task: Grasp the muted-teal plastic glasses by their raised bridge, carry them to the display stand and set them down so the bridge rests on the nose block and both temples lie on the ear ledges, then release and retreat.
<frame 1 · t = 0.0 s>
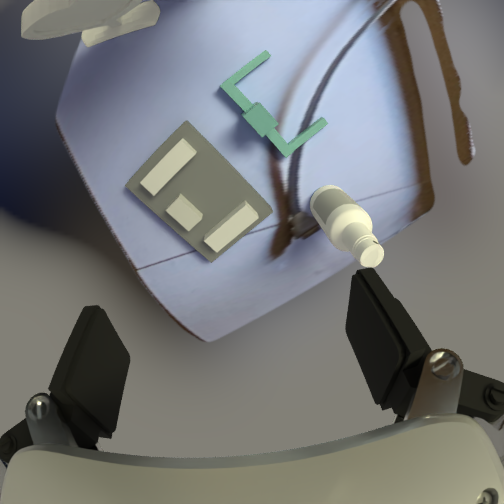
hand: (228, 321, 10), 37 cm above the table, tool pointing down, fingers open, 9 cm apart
white bottle: (327, 202, 49), on the table
display stand: (199, 193, 46), on the table
heart sculpture: (119, 23, 29), on the table
teal glasses: (257, 117, 40), on the table
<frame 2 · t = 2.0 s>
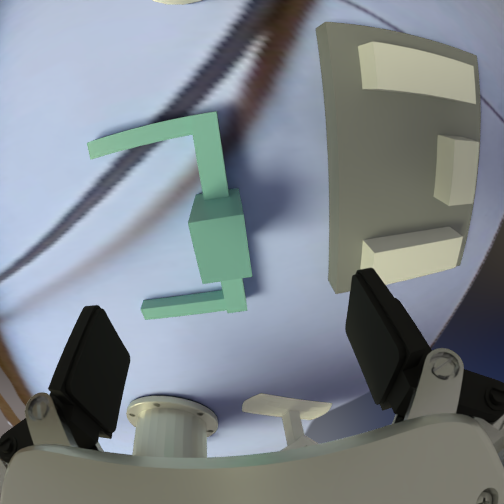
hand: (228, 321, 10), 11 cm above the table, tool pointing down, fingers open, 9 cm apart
display stand: (407, 160, 19), on the table
heart sculpture: (288, 407, 35), on the table
teal glasses: (221, 217, 20), on the table
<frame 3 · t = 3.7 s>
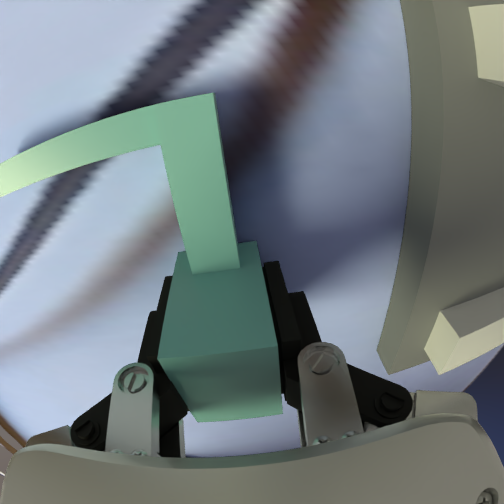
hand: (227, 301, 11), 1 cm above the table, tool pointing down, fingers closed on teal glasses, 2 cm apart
display stand: (499, 189, 11), on the table
teal glasses: (225, 287, 12), on the table, touching gripper
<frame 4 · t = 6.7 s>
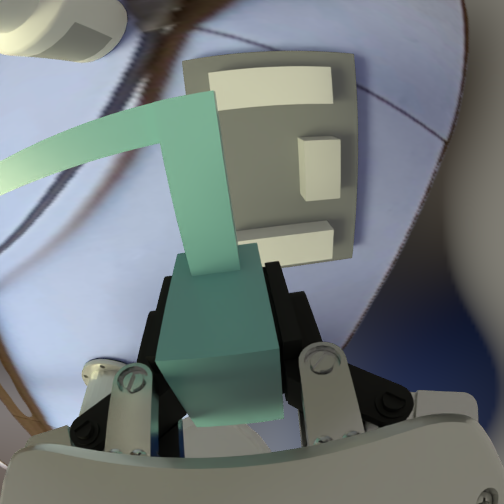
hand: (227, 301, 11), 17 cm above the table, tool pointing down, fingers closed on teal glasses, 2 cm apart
white bottle: (95, 30, 17), on the table
display stand: (277, 162, 25), on the table
heart sculpture: (214, 381, 41), on the table
teal glasses: (225, 290, 12), point 16 cm above the table, touching gripper
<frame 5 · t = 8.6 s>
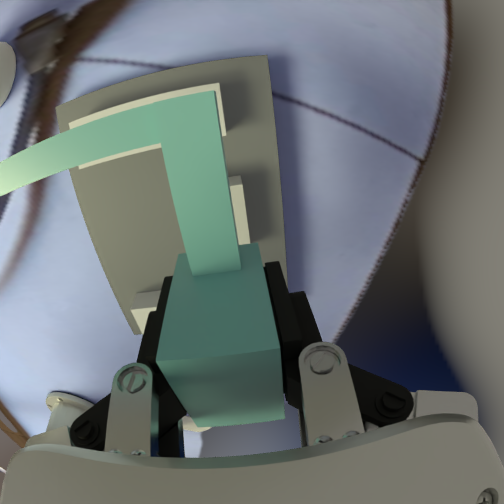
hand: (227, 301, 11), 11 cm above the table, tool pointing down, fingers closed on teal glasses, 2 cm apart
display stand: (182, 210, 21), on the table
teal glasses: (226, 290, 12), point 10 cm above the table, touching gripper
when the fingers open (6 cm above the table, at t = 10.1 s): teal glasses drops 2 cm, resting on display stand.
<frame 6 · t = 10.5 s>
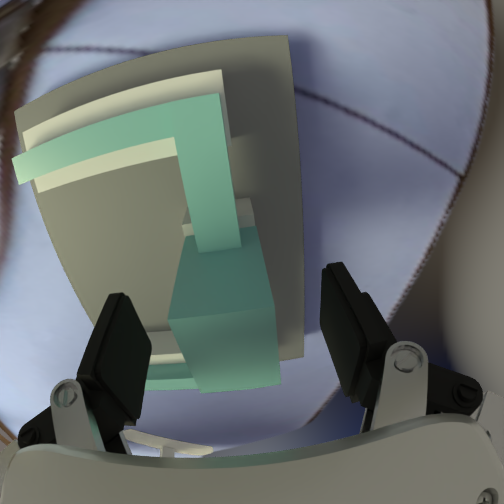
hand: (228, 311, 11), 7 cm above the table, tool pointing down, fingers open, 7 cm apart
display stand: (175, 237, 16), on the table
heart sculpture: (167, 443, 32), on the table
teal glasses: (227, 270, 13), point 4 cm above the table, touching display stand
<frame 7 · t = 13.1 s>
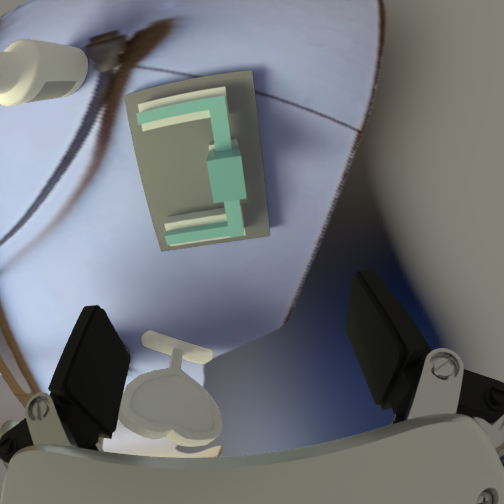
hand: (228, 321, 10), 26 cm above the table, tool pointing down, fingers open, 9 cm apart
white bottle: (67, 72, 24), on the table
display stand: (201, 162, 32), on the table
heart sculpture: (177, 347, 48), on the table
teal glasses: (226, 166, 29), point 4 cm above the table, touching display stand
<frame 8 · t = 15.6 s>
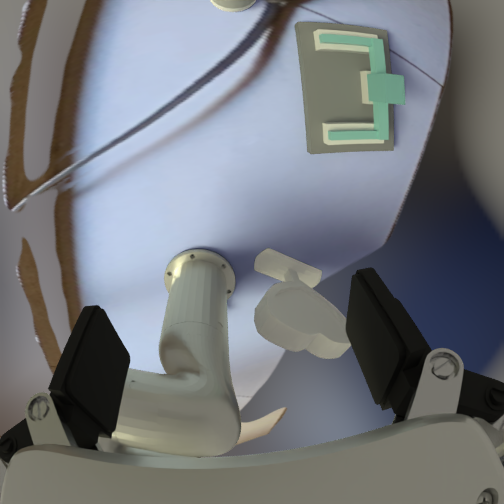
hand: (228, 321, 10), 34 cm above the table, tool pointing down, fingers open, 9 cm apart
display stand: (346, 86, 36), on the table
heart sculpture: (289, 270, 52), on the table
teal glasses: (376, 88, 32), point 4 cm above the table, touching display stand
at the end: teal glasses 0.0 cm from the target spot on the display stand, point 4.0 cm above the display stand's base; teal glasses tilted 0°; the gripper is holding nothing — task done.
